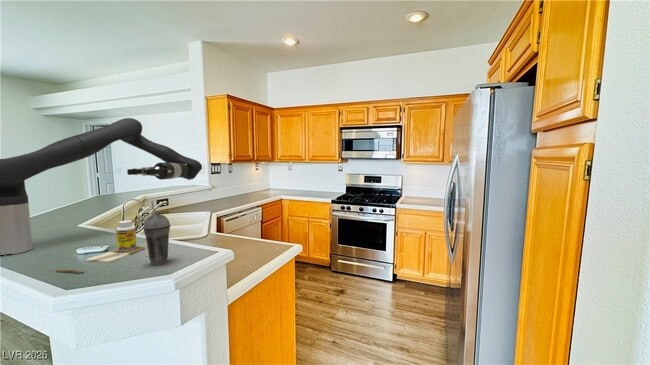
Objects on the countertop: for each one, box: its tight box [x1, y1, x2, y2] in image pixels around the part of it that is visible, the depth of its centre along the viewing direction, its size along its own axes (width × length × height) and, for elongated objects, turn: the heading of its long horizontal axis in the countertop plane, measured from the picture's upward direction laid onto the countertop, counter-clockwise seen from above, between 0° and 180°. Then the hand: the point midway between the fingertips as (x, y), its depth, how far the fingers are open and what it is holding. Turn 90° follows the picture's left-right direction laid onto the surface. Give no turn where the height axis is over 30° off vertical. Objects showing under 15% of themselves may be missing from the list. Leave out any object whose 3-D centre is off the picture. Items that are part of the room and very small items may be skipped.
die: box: [144, 243, 149, 257], centre depth 92 cm, size 4×4×4 cm
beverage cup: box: [142, 200, 171, 267], centre depth 83 cm, size 7×7×20 cm
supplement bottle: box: [115, 219, 137, 251], centre depth 95 cm, size 6×6×10 cm
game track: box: [55, 246, 145, 275], centre depth 88 cm, size 9×22×1 cm, turn 170°
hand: (137, 172), depth 105 cm, fingers open, 8 cm apart
